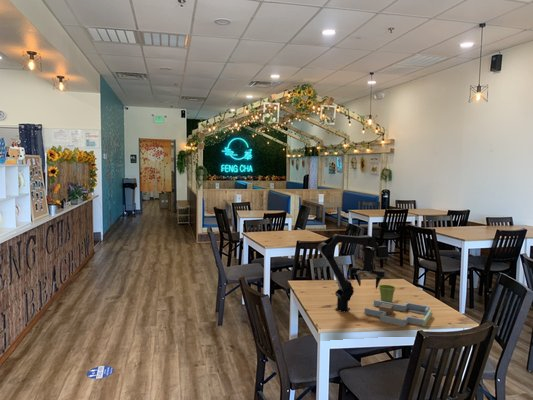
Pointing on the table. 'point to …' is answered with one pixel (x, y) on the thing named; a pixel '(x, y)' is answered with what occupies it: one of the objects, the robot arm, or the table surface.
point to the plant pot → (387, 292)
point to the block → (386, 308)
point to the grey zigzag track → (410, 306)
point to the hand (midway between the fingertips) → (368, 287)
